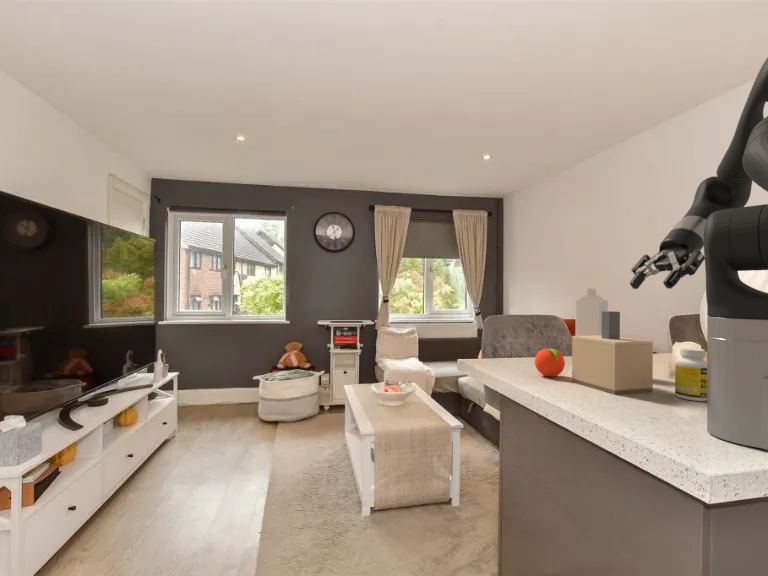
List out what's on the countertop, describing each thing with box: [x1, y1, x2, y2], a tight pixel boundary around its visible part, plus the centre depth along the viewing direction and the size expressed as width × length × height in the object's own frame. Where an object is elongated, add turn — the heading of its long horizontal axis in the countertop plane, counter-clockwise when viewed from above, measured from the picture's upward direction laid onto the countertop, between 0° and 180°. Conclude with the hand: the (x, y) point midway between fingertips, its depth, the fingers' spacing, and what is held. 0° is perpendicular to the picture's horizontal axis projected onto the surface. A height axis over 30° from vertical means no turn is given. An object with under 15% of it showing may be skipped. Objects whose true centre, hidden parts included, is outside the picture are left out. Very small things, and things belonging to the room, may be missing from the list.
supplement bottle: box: [674, 347, 707, 402], centre depth 80 cm, size 5×5×10 cm
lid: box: [572, 310, 654, 345], centre depth 89 cm, size 12×10×7 cm
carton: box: [571, 339, 654, 395], centre depth 89 cm, size 12×10×10 cm
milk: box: [574, 288, 609, 336], centre depth 106 cm, size 6×6×22 cm
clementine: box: [534, 347, 566, 378], centre depth 99 cm, size 8×7×7 cm
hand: (649, 286), depth 93 cm, fingers open, 8 cm apart
